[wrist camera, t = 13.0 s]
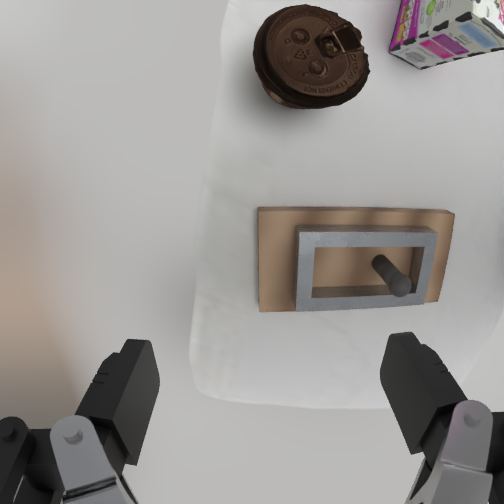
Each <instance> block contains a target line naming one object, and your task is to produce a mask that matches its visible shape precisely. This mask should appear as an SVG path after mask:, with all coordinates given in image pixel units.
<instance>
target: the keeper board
mask: <svg viewBox="0 0 504 504" xmlns="http://www.w3.org/2000/svg"><path fill="white" fill-rule="evenodd" d="M454 218H455V214H453V213H451V212H449V211H447V210H432V209H407V208H372V207H258V248H259V312H284V311H295V307H294V302H293V290H294V269H295V245H296V225H399V226H428V227H430V228H431V229H433V230H435V231H436V232H438V239H437V244H436V250H435V256H434V261H433V266H432V271H431V275H430V280H429V285H428V289H427V293H426V297H425V301H424V303H428V302H438V299H439V295H440V291H441V287H442V283H443V278H444V274H445V269H446V264H447V259H448V254H449V249H450V243H451V237H452V231H453V225H454ZM412 253H413V247H315V253H314V268H313V282H312V287H337V286H365V285H387V286H388V287H389V291H390V292H391V294H392V295H393V296H395V297H404V296H406V295H407V294H408V293H409V292H410V290H411V281H410V279H409V277H408V276H409V270H410V265H411V259H412Z"/></svg>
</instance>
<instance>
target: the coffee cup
mask: <svg viewBox="0 0 504 504" xmlns="http://www.w3.org/2000/svg"><path fill="white" fill-rule="evenodd" d="M361 39H362V35H361V32H360V30H359V29H357V28H355V27H354V26H353V25H352V23H351V22H349V21H347V20H345V19H342V18H341V17H339V16H338V14H337V13H335V12H332V11H328V10H326V9H323V8H320V7H317V6H310V5H307V4H304V5H296V6H290V7H285V8H283V9H281V10H279V11H277V12H275V13H274V14H272V15H270V16H269V17H268V18H267V19H266V20H265V21H264V23H263V24H262V26H261V27H260V29H259V30H258V32H257V34H256V37H255V41H254V50H253V57H254V64H255V70H256V72H257V74H258V76H259V78H260V80H261V81H262V84H263V87H264V89H265V91H266V92H267V94H268V95H269V96H270V97H271V98H272V99H273V100H274V101H276V102H278V103H279V104H282V105H284V106H286V107H289V108H295V109H321V108H326V107H330V106H338V105H341V104H343V103H345V102H347V101H349V100H351V99H352V98H353V97H355V96H356V95H357V94H358V93H359V92H360V91H361V89H362V88H363V87H364V85H365V83H366V81H367V78H368V75H369V73H370V70H369V63H368V54H366V53H364V47H363V46H362V45H361V43H360V41H361Z"/></svg>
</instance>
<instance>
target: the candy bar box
mask: <svg viewBox="0 0 504 504" xmlns="http://www.w3.org/2000/svg"><path fill="white" fill-rule="evenodd" d="M499 50H504V0H402V2H401V6H400V10H399V15H398V19H397V22H396V26H395V30H394V34H393V38H392V42H391V45H390V49H389V52H390V53H392V54H393V55H395V56H397V57H399V58H401V59H403V60H405V61H407V62H408V63H410V64H412V65H413V66H415V67H417V68H419V69H421V70H422V69H426V68H429V67H432V66H436V65H439V64H443V63H447V62H451V61H455V60H458V59H462V58H467V57H471V56H475V55H480V54H485V53H489V52H494V51H499Z"/></svg>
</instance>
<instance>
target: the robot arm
mask: <svg viewBox="0 0 504 504" xmlns="http://www.w3.org/2000/svg"><path fill="white" fill-rule="evenodd" d="M380 380H381V384H382V387H383V389H384V391H385V393H386V396H387V398H388V400H389V403H390V405H391V407H392V410H393V412H394V414H395V417H396V419H397V421H398V424H399V426H400V429H401V431H402V433H403V436H404V438H405V441H406V443H407V446H408V448H409V451H410V453H411V454H416V453H420V452H424V455H425V458H424V459H423V461H422V463H421V466H420V469H419V471H418V474H417V477H416V479H415V481H414V484H413V486H412V488H411V491H410V493H409V495H408V497H407V499H406V502H405V504H487V503H488V502H489V504H504V412H491V411H490V409H489V408H488V407H487V406H486V405H484V404H483V403H481V402H479V401H475V400H468V399H467V398H466V396H465V395H464V393H463V391H462V390H461V388H460V387H459V385H458V384H457V382H456V381H455V379H454V378H453V376H452V375H451V373H450V372H448V369H447V367H446V366H445V365H444V364H443V363H442V360H441V359H440V357H439V356H438V354H437V353H436V352H435V351H434V350H432V349H431V348H430V347H428V346H427V345H425V344H422V345H421V344H420V342H419V341H418V339H417V338H416V336H415V335H414V334H413V333H412V332H404V333H396V334H391V335H390V336H389V338H388V342H387V346H386V350H385V353H384V357H383V361H382V365H381V368H380ZM159 386H160V378H159V372H158V368H157V365H156V360H155V356H154V352H153V348H152V344H151V342H150V341H149V340H137V339H127V340H126V342H125V344H124V346H123V348H122V349H121V351H120V353H112V354H111V355H110V356H109V357H108V358H107V359H105V360H104V361H103V362H102V364H101V366H100V368H99V369H98V371H97V374H96V375H95V377H94V379H93V383H91V384H90V386H89V388H88V390H87V392H86V394H85V395H84V397H83V399H82V401H81V403H80V405H79V407H78V409H77V411H76V413H75V414H74V415H71V416H66V417H64V418H62V419H60V420H59V421H57V422H56V423H55V424H54V426H53V427H52V429H29V428H28V427H27V425H26V424H25V422H24V421H23V420H21V419H20V418H18V417H7V418H4V419H2V420H0V504H13V499H14V495H15V493H16V490H17V488H18V485H19V483H20V480H21V478H22V477H23V480H22V483H21V485H20V488H19V491H18V493H17V496H16V498H15V501H14V504H60V502H61V499H62V501H63V504H139V502H138V500H137V499H136V497H135V496H134V494H133V492H132V490H131V488H130V486H129V484H128V483H127V481H126V479H125V477H124V475H123V473H122V471H123V468H124V465H125V464H130V465H136V466H137V462H138V459H139V455H140V452H141V448H142V445H143V441H144V438H145V435H146V431H147V428H148V424H149V421H150V418H151V414H152V411H153V408H154V405H155V401H156V398H157V395H158V392H159ZM64 491H66V495H63V492H64Z"/></svg>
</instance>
